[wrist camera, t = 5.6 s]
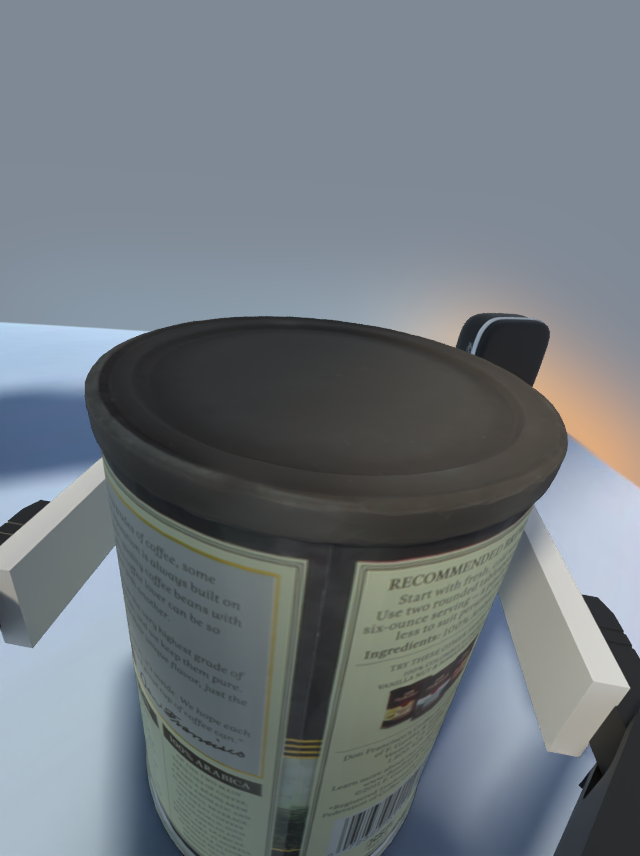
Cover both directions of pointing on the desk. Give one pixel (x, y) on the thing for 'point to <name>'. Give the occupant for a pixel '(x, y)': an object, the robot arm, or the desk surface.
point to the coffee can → (307, 563)
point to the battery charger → (507, 342)
